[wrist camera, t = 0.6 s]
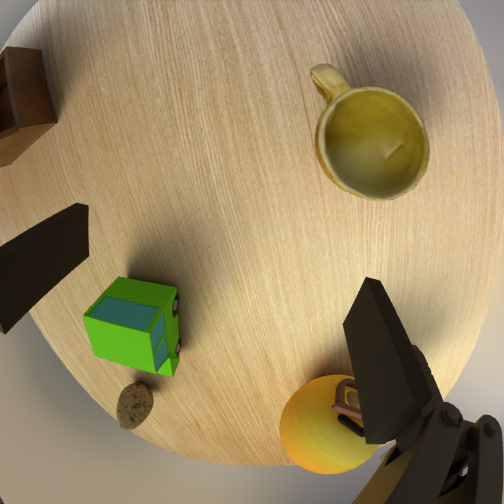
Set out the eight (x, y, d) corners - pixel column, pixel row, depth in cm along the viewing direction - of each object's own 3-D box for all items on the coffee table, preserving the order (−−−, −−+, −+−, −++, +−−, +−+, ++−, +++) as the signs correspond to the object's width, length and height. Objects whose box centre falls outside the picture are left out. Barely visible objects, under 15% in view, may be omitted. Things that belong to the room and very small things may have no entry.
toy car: (128, 344, 41) (101, 389, 32) (116, 270, 36) (75, 313, 27) (189, 358, 41) (170, 410, 32) (187, 283, 35) (158, 335, 26)
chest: (-5, 98, 26) (-36, 102, 20) (40, 49, 23) (6, 46, 17) (10, 164, 31) (-22, 175, 24) (57, 122, 28) (20, 127, 22)
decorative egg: (132, 392, 47) (113, 432, 38) (125, 372, 45) (102, 414, 36) (161, 399, 47) (144, 441, 38) (155, 379, 44) (135, 424, 35)
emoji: (399, 371, 39) (423, 449, 25) (333, 420, 45) (338, 491, 31) (326, 332, 36) (338, 429, 23) (260, 392, 43) (250, 474, 29)
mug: (432, 175, 25) (450, 187, 17) (345, 201, 30) (324, 223, 22) (387, 66, 23) (383, 32, 15) (303, 99, 28) (265, 81, 20)
